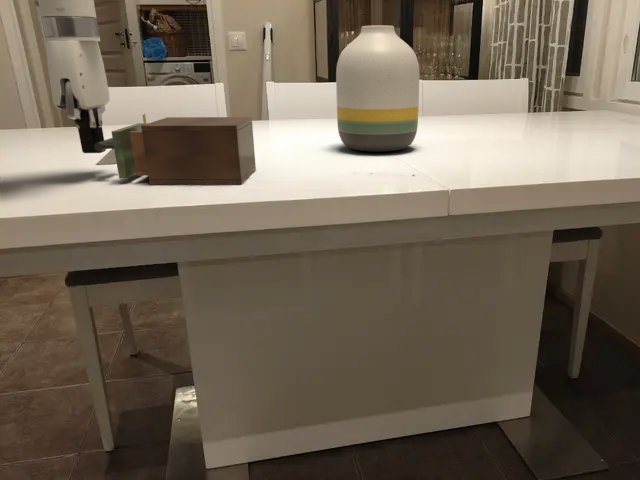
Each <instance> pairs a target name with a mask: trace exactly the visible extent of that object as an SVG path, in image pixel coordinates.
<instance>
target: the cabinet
mask: <svg viewBox="0 0 640 480" xmlns="http://www.w3.org/2000/svg"><path fill="white" fill-rule="evenodd" d="M147 123H148V124H147ZM147 123H146V124H145V125H142V126H141V129H142V136H143V142H144V149H145V156H146V162H147V169H148V175H147V176H148V182H149V185H151V186H155V185H156V186H159V185H160V186H162V185H163V186H164V185H165V186H166V185H168V186H169V185H170V186H172V185H173V186H176V185H177V186H179V185H180V186H181V185H186V186H188V185H189V186H190V185H191V186H193V185H194V186H195V185H196V186H197V185H202V186H203V185H206V186H207V185H208V186H210V185H211V186H212V185H215V186H216V185H222V186H224V185H225V186H226V185H227V186H229V185H235V186H236V185H237V186H238V185H240V186H241V185H243V184H244V183H245V182H246V181H247V179H248V178H250V177H251V176H252V175H253V173H255V172H256V170H257V167H256V154H255V143H254V142H255V141H254V128H253V127H254V126H253V117H252V116H203V117H202V116H197V117H196V116H194V117H193V116H190V117H189V116H186V117H185V116H183V117H182V116H181V117H180V116H179V117H177V116H176V117H175V116H172V117H170V116H169V117H168V116H167V117H164V118H161V119H158V120H154V121H152V122H147Z"/></svg>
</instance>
